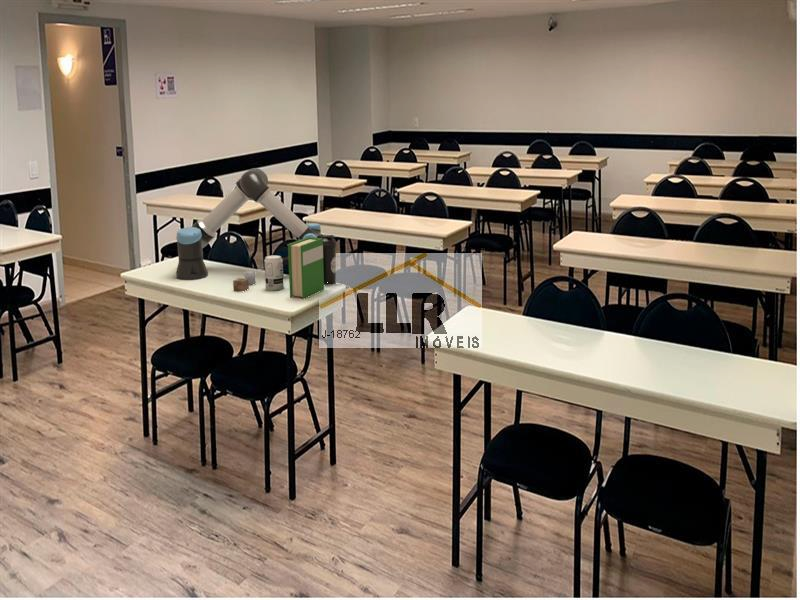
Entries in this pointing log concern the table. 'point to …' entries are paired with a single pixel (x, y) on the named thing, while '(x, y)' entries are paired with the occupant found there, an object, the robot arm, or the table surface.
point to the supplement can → (274, 272)
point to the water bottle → (329, 259)
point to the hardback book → (306, 267)
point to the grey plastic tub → (250, 277)
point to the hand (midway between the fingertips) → (284, 267)
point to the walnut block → (240, 284)
